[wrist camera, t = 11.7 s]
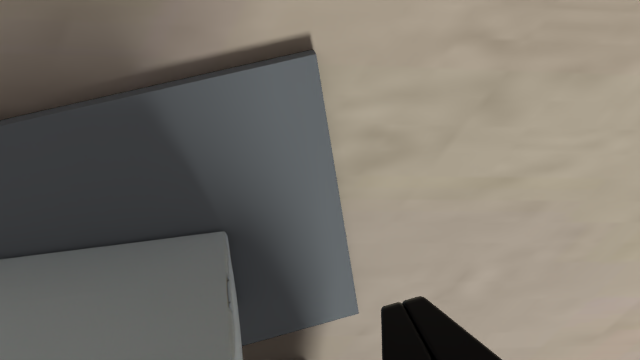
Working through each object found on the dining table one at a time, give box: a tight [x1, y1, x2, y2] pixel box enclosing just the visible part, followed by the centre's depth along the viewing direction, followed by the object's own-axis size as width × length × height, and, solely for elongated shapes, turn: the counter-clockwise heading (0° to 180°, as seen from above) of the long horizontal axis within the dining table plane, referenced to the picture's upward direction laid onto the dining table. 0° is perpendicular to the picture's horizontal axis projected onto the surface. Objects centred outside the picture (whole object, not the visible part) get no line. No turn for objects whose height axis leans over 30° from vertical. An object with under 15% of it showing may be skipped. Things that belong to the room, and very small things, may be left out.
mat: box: [0, 50, 359, 346], centre depth 23 cm, size 16×18×1 cm
